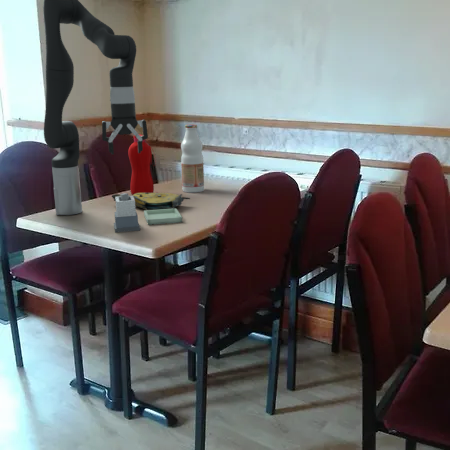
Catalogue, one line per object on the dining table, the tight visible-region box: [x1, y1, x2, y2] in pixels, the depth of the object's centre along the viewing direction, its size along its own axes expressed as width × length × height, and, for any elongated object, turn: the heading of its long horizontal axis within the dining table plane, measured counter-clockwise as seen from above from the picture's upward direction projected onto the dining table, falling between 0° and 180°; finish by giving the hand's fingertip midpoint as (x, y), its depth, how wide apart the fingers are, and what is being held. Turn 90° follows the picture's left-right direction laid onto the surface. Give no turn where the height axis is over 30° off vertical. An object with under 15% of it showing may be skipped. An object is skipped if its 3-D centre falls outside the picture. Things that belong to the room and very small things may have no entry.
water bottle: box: [127, 133, 157, 196], centre depth 237 cm, size 9×11×25 cm
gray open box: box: [115, 195, 137, 217], centre depth 186 cm, size 6×8×5 cm
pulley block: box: [111, 192, 191, 211], centre depth 217 cm, size 14×6×30 cm
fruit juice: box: [180, 124, 205, 194], centre depth 243 cm, size 9×9×28 cm
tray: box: [143, 207, 183, 226], centre depth 199 cm, size 12×14×2 cm
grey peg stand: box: [113, 192, 141, 233], centre depth 187 cm, size 8×8×12 cm
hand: (126, 153), depth 184 cm, fingers open, 8 cm apart
